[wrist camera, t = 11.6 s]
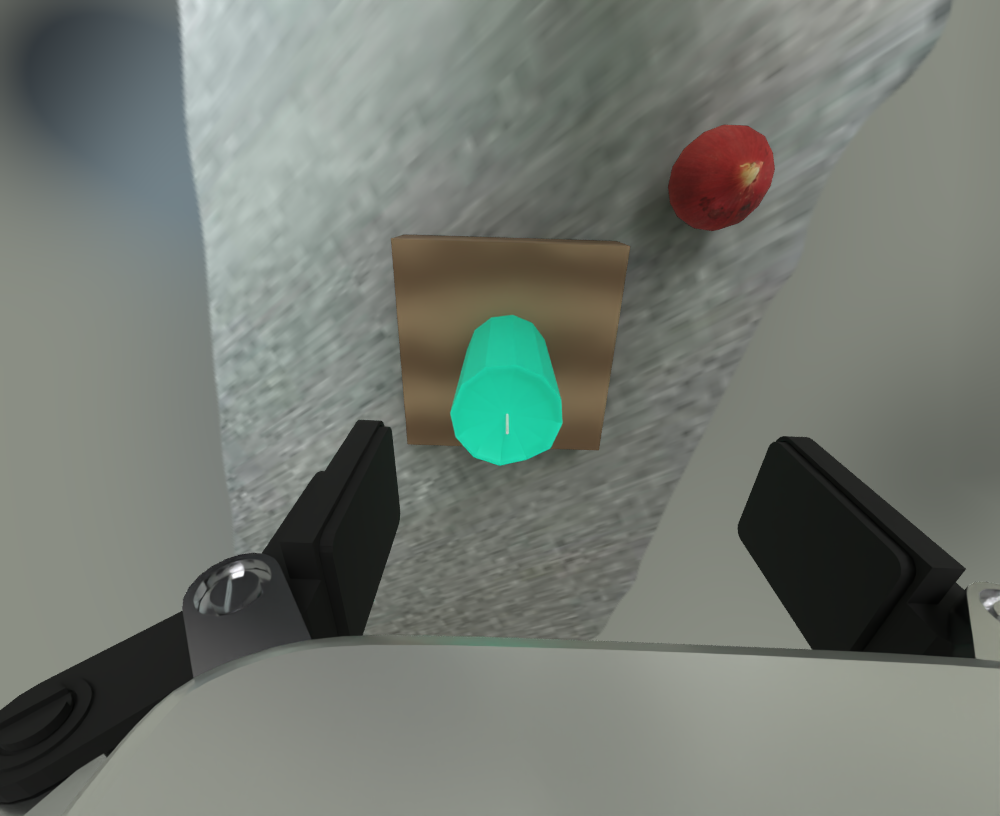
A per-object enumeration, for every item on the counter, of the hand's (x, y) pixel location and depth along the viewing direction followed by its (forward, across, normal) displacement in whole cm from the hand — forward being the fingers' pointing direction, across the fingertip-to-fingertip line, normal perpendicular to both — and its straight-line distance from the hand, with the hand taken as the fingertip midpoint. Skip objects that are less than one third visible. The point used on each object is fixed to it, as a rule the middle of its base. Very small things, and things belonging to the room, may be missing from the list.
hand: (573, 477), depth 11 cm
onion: (+26, -11, -7) cm, 29 cm away
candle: (+21, +2, +5) cm, 22 cm away
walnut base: (+25, +2, +5) cm, 26 cm away
